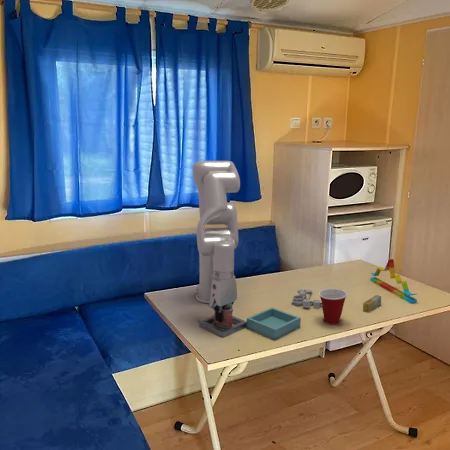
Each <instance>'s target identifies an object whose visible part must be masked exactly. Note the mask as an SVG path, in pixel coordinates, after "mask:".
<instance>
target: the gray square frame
mask: <svg viewBox="0 0 450 450" xmlns="http://www.w3.org/2000/svg"><path fill="white" fill-rule="evenodd" d="M233 324H234V325H233ZM232 325H233V326H231V327H229V328H227V329H225V328H221V327H218V326H216V325H214V315H212V316H210V317H208V318H205V319H201V320H200V321H199V322H198V326H199V327H200V328H202V329H204V330H206V331H208V332H211V333H213V334H214V335H217V336H219V337H221V338H225V337H227V336H230V335H232V334H234V333H237V332H239V331H241V330H244V329H247V320H244V319H241V318H239V317H238V316H237V317H236V316H234V315H232Z"/></svg>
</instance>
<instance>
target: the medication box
mask: <svg viewBox="0 0 450 450" xmlns="http://www.w3.org/2000/svg"><path fill="white" fill-rule="evenodd" d="M362 305H363V307H362V311H363V312H365V313H367V314H368V313H370V312H371V313H372V311H374V310H376V309H377V308H378V307H380V306H381V305H382V295H377V294H375V295H374V296H372V297H370V298H369V299H368V300H366V301H364V302H363V304H362Z"/></svg>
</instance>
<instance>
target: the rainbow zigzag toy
mask: <svg viewBox="0 0 450 450" xmlns="http://www.w3.org/2000/svg"><path fill="white" fill-rule="evenodd" d="M382 271H383V272H386V271H389V276H390V277H389V278H390V279H395V282H396V284H401V287H402V290H403V291H402V290H400V289H398V288H397V287H395V286H393V285H391V284H389V283H387V282H385V280H382V279H380V278H379V277H378V276H380V274H381V272H382ZM370 274H371V275H372V277H370V279H369V281H370V282H372V283H373V284H375V285H377V286H379V287H380V288H382V289H384V290H386V291H387V292H389V293H391V294H393V295H394V296H396V297H398V298H399V299H402V300H403V301H405V302H406V303H408V304H411V305H413V304H417V303H418V299H417V298H415V297H413V296H415V295H417V293H412V292H411V291H410V290H409V286H408V283H407V281H406V280H405V281H403V280H402V278H401V275H400V274H396V269H395V260H394V258H393V259H388V260H387V263H386V266H385V268H384V267H383V266H382V267H381V266H379V267H377V269H376V271H375V272H371V273H370Z"/></svg>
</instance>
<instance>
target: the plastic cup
mask: <svg viewBox="0 0 450 450" xmlns="http://www.w3.org/2000/svg"><path fill="white" fill-rule="evenodd" d="M318 296H319V297H320V300H321V301H320V302H321V303H322V307H321V309H322V313H323V320H324V322H325V323H326V324H328V325H336V324H339V323H340V321H341V315H342V312H343V308H344V305H345V301H346V297H347V296H348V292H347V291H345V290H343V289H340V288H325V289H321V290H320V291H319V292H318Z"/></svg>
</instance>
